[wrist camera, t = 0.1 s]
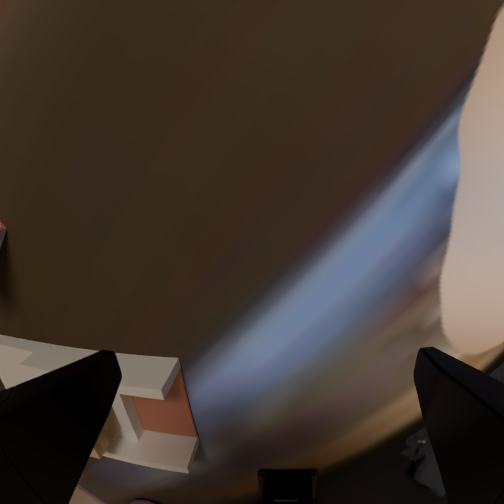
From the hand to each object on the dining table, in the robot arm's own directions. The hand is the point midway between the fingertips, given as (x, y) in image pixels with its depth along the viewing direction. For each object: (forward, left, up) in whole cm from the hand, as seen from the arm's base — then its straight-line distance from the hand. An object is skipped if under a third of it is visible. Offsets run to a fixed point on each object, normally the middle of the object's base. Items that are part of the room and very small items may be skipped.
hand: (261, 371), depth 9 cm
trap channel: (-15, +22, -15) cm, 30 cm away
